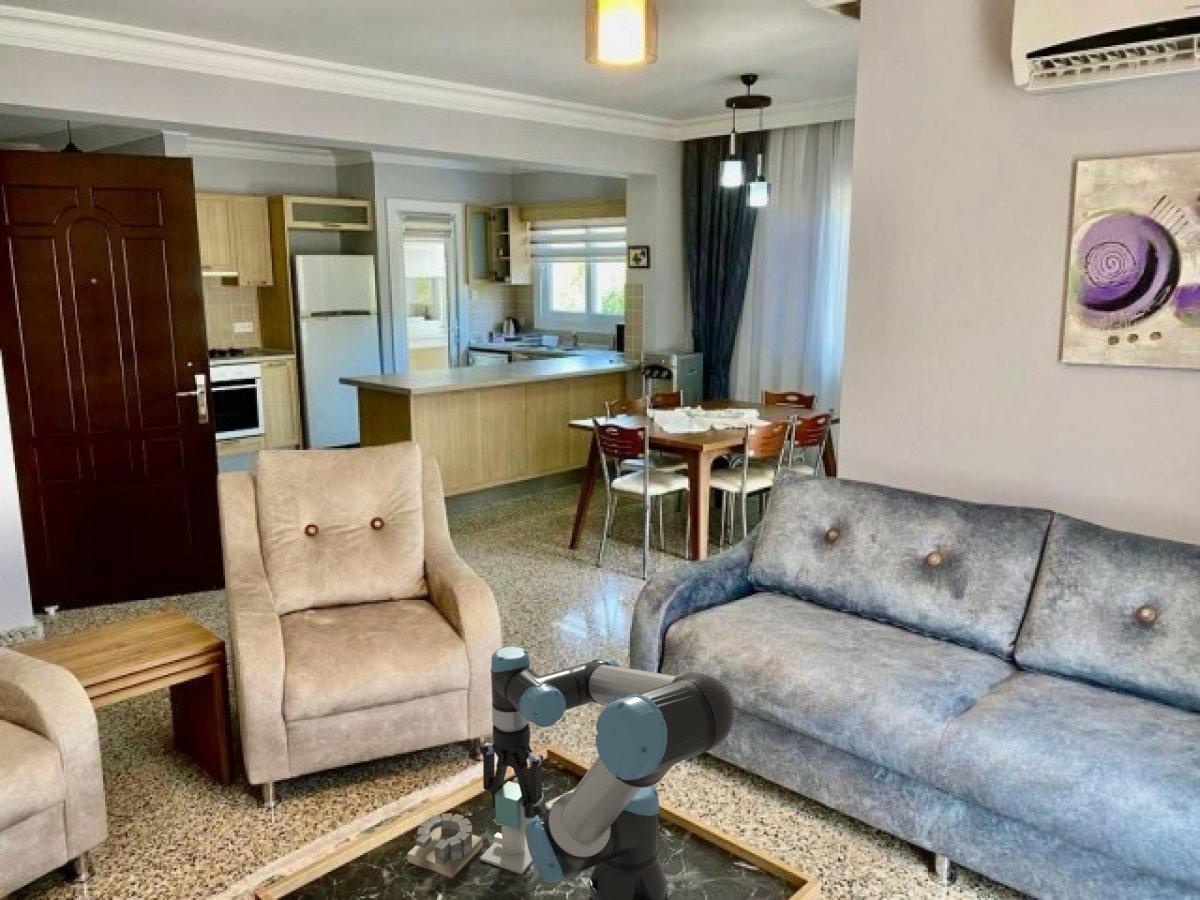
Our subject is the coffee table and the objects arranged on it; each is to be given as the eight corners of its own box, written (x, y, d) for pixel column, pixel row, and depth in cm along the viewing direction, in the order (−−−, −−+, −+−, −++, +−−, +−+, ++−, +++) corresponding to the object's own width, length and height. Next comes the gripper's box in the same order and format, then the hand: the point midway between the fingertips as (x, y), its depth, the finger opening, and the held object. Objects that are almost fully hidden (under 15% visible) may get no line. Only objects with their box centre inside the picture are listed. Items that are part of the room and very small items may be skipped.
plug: (530, 843, 191) (530, 787, 188) (518, 857, 187) (517, 800, 184) (502, 834, 194) (501, 779, 191) (489, 848, 190) (487, 791, 187)
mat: (546, 845, 192) (546, 843, 192) (522, 874, 184) (522, 871, 184) (505, 832, 197) (505, 830, 197) (480, 860, 188) (480, 857, 188)
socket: (482, 846, 192) (481, 822, 191) (452, 877, 183) (451, 852, 181) (439, 832, 197) (438, 808, 196) (407, 861, 187) (406, 837, 186)
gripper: (559, 724, 183) (560, 827, 188) (483, 705, 191) (485, 804, 196) (541, 742, 177) (542, 848, 182) (462, 721, 184) (466, 823, 189)
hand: (513, 825), depth 189 cm, fingers closed on plug, 5 cm apart
